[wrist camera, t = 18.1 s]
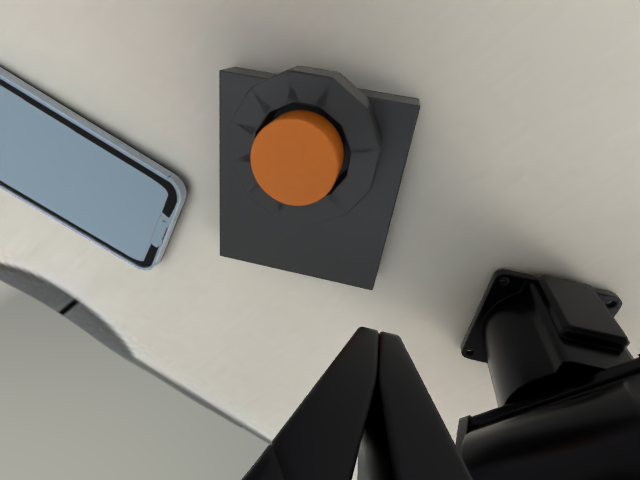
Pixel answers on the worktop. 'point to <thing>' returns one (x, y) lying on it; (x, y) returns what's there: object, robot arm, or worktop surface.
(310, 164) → the button
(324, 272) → the control block
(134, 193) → the smartphone
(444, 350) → the worktop surface
